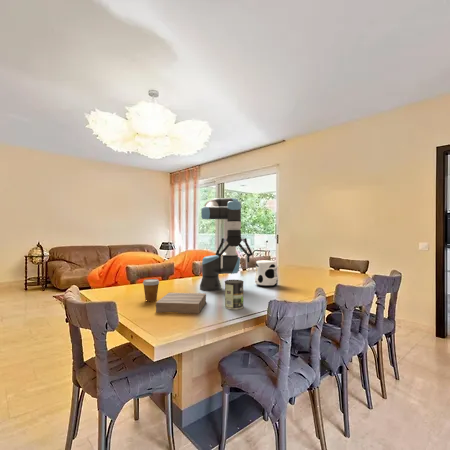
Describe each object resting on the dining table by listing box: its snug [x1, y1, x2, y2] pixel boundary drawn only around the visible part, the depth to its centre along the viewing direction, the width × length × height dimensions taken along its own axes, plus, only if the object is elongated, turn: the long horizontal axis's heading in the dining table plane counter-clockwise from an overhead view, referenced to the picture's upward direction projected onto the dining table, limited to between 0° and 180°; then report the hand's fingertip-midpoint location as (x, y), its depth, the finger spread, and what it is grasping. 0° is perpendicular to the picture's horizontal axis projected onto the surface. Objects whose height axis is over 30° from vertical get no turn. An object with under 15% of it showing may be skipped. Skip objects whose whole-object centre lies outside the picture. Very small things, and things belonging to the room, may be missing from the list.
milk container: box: [254, 259, 279, 288], centre depth 209 cm, size 17×17×18 cm
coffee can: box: [224, 279, 244, 310], centre depth 153 cm, size 10×10×14 cm
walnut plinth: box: [155, 292, 207, 314], centre depth 152 cm, size 22×22×5 cm
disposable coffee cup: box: [142, 278, 160, 302], centre depth 166 cm, size 10×10×12 cm
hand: (234, 268), depth 152 cm, fingers open, 13 cm apart
